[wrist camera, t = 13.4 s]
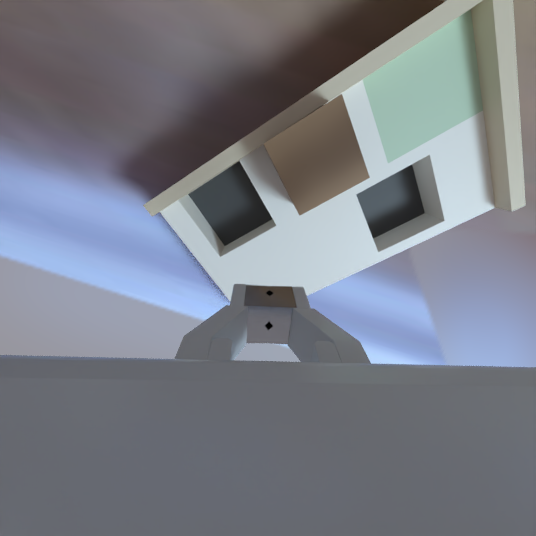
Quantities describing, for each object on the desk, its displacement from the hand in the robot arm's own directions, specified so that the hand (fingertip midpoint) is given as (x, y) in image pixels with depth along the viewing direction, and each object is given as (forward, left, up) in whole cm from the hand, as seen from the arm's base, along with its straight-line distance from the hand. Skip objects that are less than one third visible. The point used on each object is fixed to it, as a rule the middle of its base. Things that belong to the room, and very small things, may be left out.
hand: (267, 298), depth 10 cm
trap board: (+1, +6, -14) cm, 15 cm away
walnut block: (-3, +5, -11) cm, 13 cm away
